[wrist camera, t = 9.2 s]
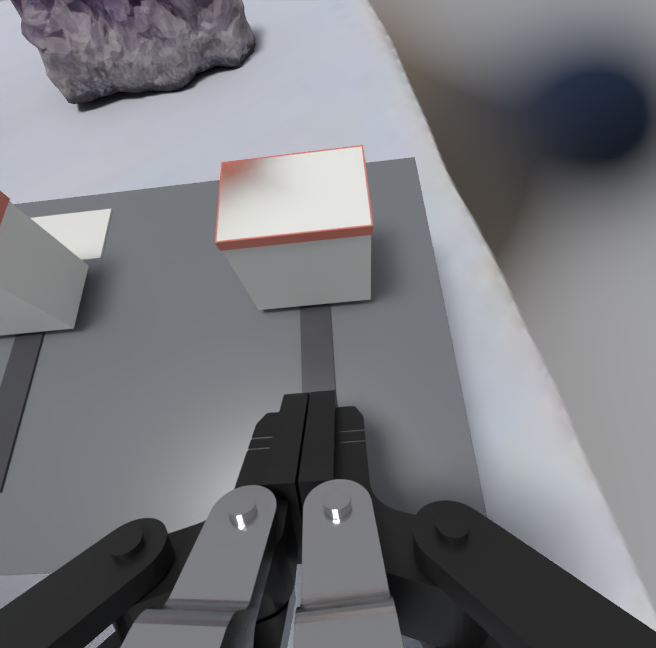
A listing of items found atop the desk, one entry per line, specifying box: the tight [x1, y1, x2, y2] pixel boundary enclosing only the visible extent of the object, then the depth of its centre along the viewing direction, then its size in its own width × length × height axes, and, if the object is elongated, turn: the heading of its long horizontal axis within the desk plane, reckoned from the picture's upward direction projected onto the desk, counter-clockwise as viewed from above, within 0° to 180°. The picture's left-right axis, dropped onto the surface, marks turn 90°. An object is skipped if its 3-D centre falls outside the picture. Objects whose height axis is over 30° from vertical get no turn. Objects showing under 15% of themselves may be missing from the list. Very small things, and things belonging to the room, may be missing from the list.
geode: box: [11, 0, 256, 104], centre depth 34 cm, size 20×12×10 cm, turn 100°
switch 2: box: [215, 145, 373, 310], centre depth 13 cm, size 3×4×4 cm
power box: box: [0, 157, 487, 576], centre depth 19 cm, size 16×22×9 cm
